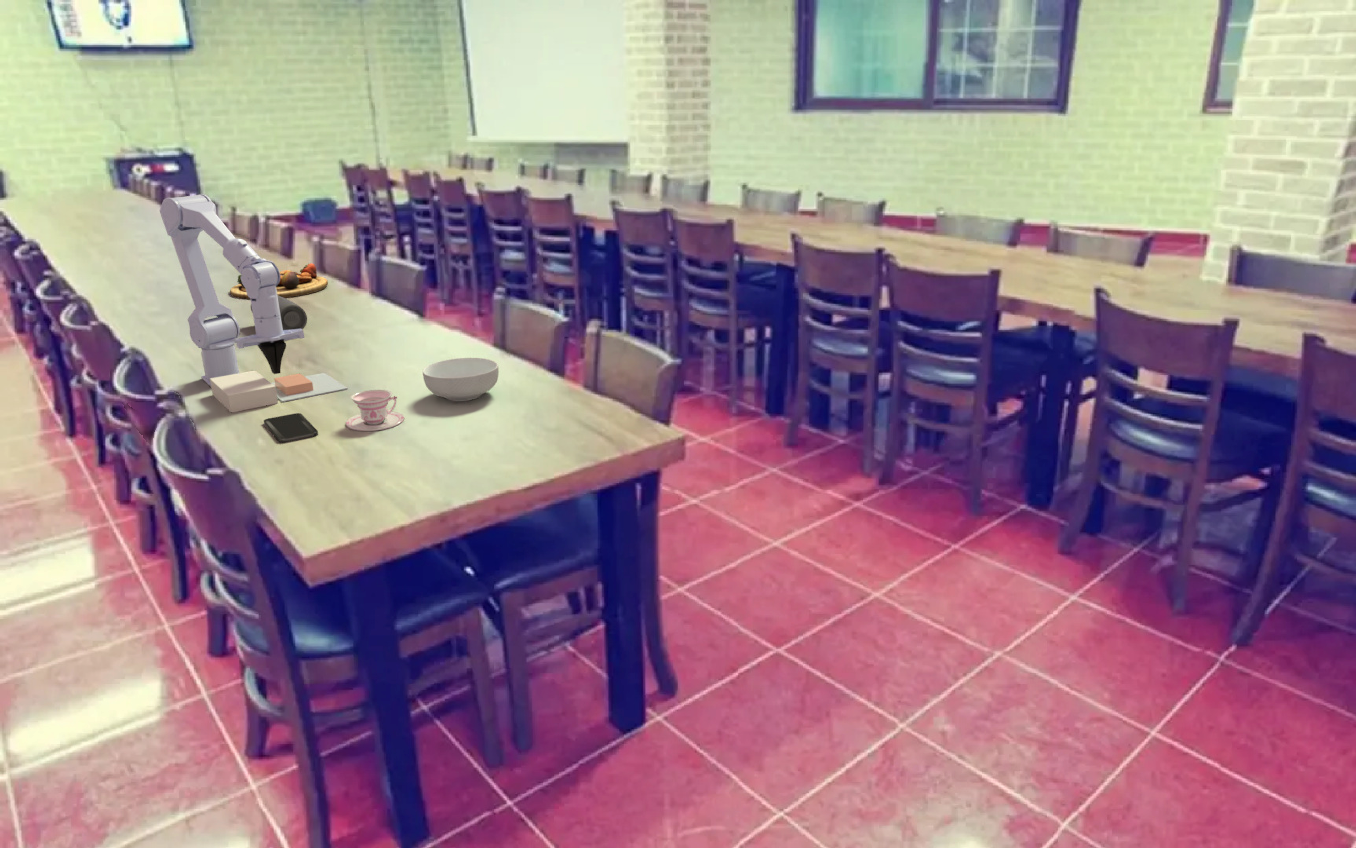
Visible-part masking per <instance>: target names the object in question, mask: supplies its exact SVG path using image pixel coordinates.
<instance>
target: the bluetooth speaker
mask: <svg viewBox="0 0 1356 848" xmlns="http://www.w3.org/2000/svg"><path fill="white" fill-rule="evenodd" d="M277 296H278V295H277ZM278 303H279V309H280V315H281V322H282V328H283V330H293V329H302V330H303V331H304V329H305V328H306V326H307V323H308V316H307V315H308V314H307V312H306V311H305V310H304V309H303V308H302V307H301V306H300V305H298V304H297V303H295V302H293V301H291V300H290V299H289V298H283V297H281V296H278ZM250 310H251V313H252V314H253V312H252V306H251V305H250Z"/></svg>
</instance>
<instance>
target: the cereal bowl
mask: <svg viewBox="0 0 1356 848" xmlns="http://www.w3.org/2000/svg"><path fill="white" fill-rule="evenodd" d="M422 377H423V381H424V384H425V386H426V388H427V389H428V390H429V392H431V393H432V394H434V395H435V396H438V397H442V398H444V399H445V398H446V399H447V400H448V401H452V402H468V401H472V399H473V400H476V399H478V398H480V397H481V396H482V395H483V394H485V393H487V392H489V391H490V390H491V389H492V388H494V387H495V385H496V384H497V382H498V380H499V365H498V362H496V361H494V360H492V359H488V358H482V357H459V358H451V359H450V358H449V359H444V360H440V361H436V362H434V363H433V362H432V363H430V364H429V365H426V366H425V367H424V369H422ZM475 398H476V399H475Z"/></svg>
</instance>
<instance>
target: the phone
mask: <svg viewBox="0 0 1356 848" xmlns="http://www.w3.org/2000/svg"><path fill="white" fill-rule="evenodd" d="M263 425H264V426H265V427H266V429H267V430H268V431H269V432H270V434H271V435H272V434H273V435H274V436H273V437H274V438H275V440H276V441H277V442H278V443H281V444H285V443H290V442H291V443H292V442H295V441H300V440H305V439H309V438H311V439H312V438H313V437H318V436H319V431H318V430H317V429H316V427H315V426H314V425H313V424H312V423H311V422H310V421H309V420H308V419H307V417H305V416H304V415H303V414H302V413H299V412H296V413H295V412H294V413H291V414H286V415H285V414H284V415H281V416H274V417H270V418H265V419H263Z"/></svg>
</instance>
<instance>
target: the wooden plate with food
mask: <svg viewBox="0 0 1356 848" xmlns="http://www.w3.org/2000/svg"><path fill="white" fill-rule="evenodd" d="M279 272H280V282H279V284H278V285H276V290H277V295H278V296H281V297H283V298H285V299H289V298H293V297H299V296H304V295H305V296H306V295H308V294H309V295H310V294H313V293H316V292H319V291H321V290H324V289H325V288H326V287H327V286H328V285H329V281H328V279H327V278H326V277H323V276H319V275H317V274H318V273H317V267H316V265H315V264H314V263H308V264H306V265H305V266H303V268H302V269H300V270H299V273H298V272H296V271H292V270H289V269H284V270H281V271H279ZM240 277H241V274H240V275H238V276H237V282H236V283H238V284H236V285H234V286H233V287H231V288H230V290H229V293H230V294H229V295H231V296H232V297H234V298H236V299H242V300H250V298H249V297H248V295H247V292H246V289H245V287H244V285H243V284H242V281H241V278H240Z"/></svg>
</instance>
